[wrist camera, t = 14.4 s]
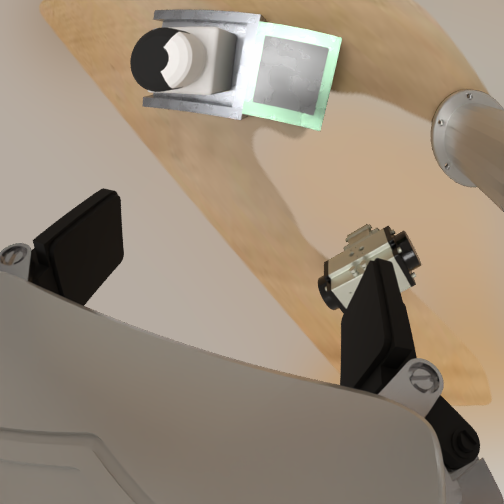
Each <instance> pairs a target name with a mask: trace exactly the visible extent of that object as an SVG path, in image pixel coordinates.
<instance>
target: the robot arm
mask: <svg viewBox="0 0 504 504" xmlns="http://www.w3.org/2000/svg"><path fill="white" fill-rule="evenodd" d="M467 94H468V98H467ZM438 120H440V123H439V124H438ZM431 144H432V150H433V152H434V156H435V158H436V160H437V162H438V164H439V166H440V167H441V169H442V170H443V171H444V173H445V174H446V175H448V176H449V177H450V178H451V179H452V180H454V181H455V182H456V183H459V184H461V185H463V186H467V187H478V188H479V189H480V190H481V191H482V192H484V193H485V194H486V195H487V196H488V197H489V198H490V199H491V200H492V201H493V202H494V203H495V204H496V205H497V206H498V207H499V208H500V209H501V210H502V211H503V212H504V109H503V108H502V106H501V105H500V104H499V103H498V102H497V101H496V100H495V99H494V98H492V97H491V96H490V95H488V94H486V93H483V92H481V91H477V90H468V89H467V90H460V91H457V92H455V93H452V94H451V95H450V96H448V97H447V98H445V100H444V101H443V102H442V103H441V104H440V105H439V107H438V109H437V111H436V112H435V115H434V118H433V121H432V127H431ZM446 163H447V165H446V166H445V164H446ZM121 221H122V220H121V200H120V197H119V196H118V194H117V192H116V191H112V190H108V189H101V190H99V191H98V192H96V193H95V194H93V195H92V196H90V197H89V198H88V199H86V200H85V201H84V202H82V203H81V204H79V205H78V206H77V207H75V208H74V209H72V210H71V211H70V212H68V213H67V214H66V215H64V216H63V217H62V218H60V219H59V220H58V221H56V222H55V223H54V224H53V225H51V226H50V227H49V228H47V229H46V230H45V231H44V232H43V233H41V234H40V235H39V236H37V237H36V238H35V239H34V240H33V243H34V247H35V248H34V249H33V250H32V251H31V248H30V247H29V245H27V244H23V243H16V244H13V245H10V246H8V247H6V248H4V249H3V250H2V251H1V252H0V504H504V500H503V497H502V494H501V492H500V490H499V488H498V486H497V484H496V482H495V480H494V478H493V476H492V474H491V472H490V470H489V468H488V466H487V464H486V462H485V461H484V459H483V458H481V459H480V460H479V458H478V453H479V450H480V442H479V438H478V435H477V433H476V432H475V430H474V429H473V428H472V427H471V426H470V425H469V424H468V423H467V422H466V421H465V420H464V419H463V418H462V417H461V415H460V414H459V413H458V412H457V411H456V410H455V409H454V408H453V407H452V406H451V405H450V404H449V403H448V402H447V401H446V400H445V399H444V398H443V397H442V396H441V395H440V394H441V392H442V390H443V378H442V375H441V373H440V372H439V370H438V369H437V368H436V367H435V366H434V365H433V364H432V363H430V362H429V361H427V360H424V359H420V358H417V357H416V352H415V347H414V342H413V337H412V332H411V328H410V323H409V319H408V315H407V310H406V306H405V304H404V303H403V301H402V297H401V293H400V289H399V285H398V281H397V278H396V274H395V270H394V267H393V263H392V262H391V261H387V260H384V259H380V258H376V259H375V260H374V261H372V260H370V261H369V263H368V265H367V267H366V269H365V271H364V273H363V276H362V278H361V280H360V282H359V284H358V286H357V288H356V290H355V292H354V294H353V296H352V299H351V301H350V303H349V305H348V307H347V309H346V311H345V312H344V315H343V317H342V321H341V378H340V385H337V384H332V383H327V382H323V381H318V380H313V379H310V378H306V377H301V376H297V375H293V374H289V373H285V372H280V371H277V370H273V369H268V368H265V367H261V366H257V365H253V364H250V363H246V362H243V361H239V360H236V359H232V358H229V357H225V356H222V355H219V354H215V353H212V352H209V351H206V350H202V349H199V348H196V347H193V346H189V345H186V344H184V343H181V342H178V341H174V340H172V339H169V338H166V337H163V336H160V335H157V334H154V333H152V332H149V331H146V330H143V329H141V328H138V327H135V326H133V325H130V324H127V323H125V322H122V321H120V320H117V319H114V318H112V317H109V316H107V315H104V314H102V313H100V312H97V311H94V310H92V309H90V308H87V307H85V306H84V305H85V304H86V303H87V301H88V300H89V299H90V298H91V297H92V295H93V294H94V293H95V292H96V291H97V289H98V288H99V287H100V286H101V285H102V283H103V282H104V281H105V280H106V279H107V277H108V276H109V275H110V274H111V273H112V272H113V271H114V270H115V269H116V267H117V266H118V265H119V264H120V263H121V261H122V260H123V256H124V250H123V237H122V222H121Z"/></svg>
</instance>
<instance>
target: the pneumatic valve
mask: <svg viewBox="0 0 504 504" xmlns="http://www.w3.org/2000/svg"><path fill="white" fill-rule="evenodd" d="M371 228H372V227H371V225H367V224H366V225H365V226H363V227H361V228H360V229H358V230H356V231H354V232H353V233H351V234H349V235H348V236H347V238H346V242H349V244H348V245H347V246H345V247H344V252H342V253H340V254H338V255H337V256H335V257H333V258H331V259H329V260H328V261H326V262H324V276H322V277H320V278H319V279H318V288H319V291H320V294H321V296H322V298H323V300H324V302H325V303H326V305H327V306H328V307H329V308H330V309H332V310H336V309H338V308H340V309H341V311H342V312H343V313H344V312H345V311H346V309H347V307H348V305H349V303H350V301H351V299H352V296H353V294H354V292H355V290H356V288H357V286H358V284H359V282H360V280H361V278H362V276H363V273H364V271H365V269H366V267H367V265H368V263H369V261H370V260H372V261H374V260H375V259H376V258H380V259H384V260H387V261H391V262H392V263H393V267H394V270H395V274H396V278H397V281H398V285H399V289H400V293H401V292H403V291H404V290H406V289H408V288H410V287H412V286H414V285H416V283H415V280H414V277H416V275H415V273H414V272H413V273H412V270H414V269H416V268H418V267H419V266H421V262H420V259H419V257H418V255H417V253H416V251H415V249H414V247H413V245H412V243H411V241H410V239H409V237H408V235H407V234H406V232H405V231H402V232H400V233H399V234H397V235H394V234H395V231H394V230H391V229H390V227H389V226H387V227H385V228H383V229H382V230H379V229H378V228H376V229H374V230H372V231H371Z"/></svg>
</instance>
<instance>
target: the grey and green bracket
mask: <svg viewBox="0 0 504 504" xmlns="http://www.w3.org/2000/svg"><path fill="white" fill-rule="evenodd" d="M154 20H158V21H163V26H162V28H163V27H167V28H168V27H218V28H221V29H223V30H226V31H228V32H231V33H233V34H235V35H236V36H237V38H236V46H235V54H234V62H233V70H232V79H231V87H230V90H229V91H226V92H222V93H217V94H213V95H197V94H181V93H156V92H154V93H153V95H150V96H146V97H143V106H144V107H154V108H164V109H172V110H180V111H188V112H195V113H202V114H208V115H215V116H221V117H226V118H232V119H238V120H242V119H244V118H245V117H247V116H248V115H252V116H257V117H262V118H267V119H271V120H276V121H280V122H285V123H289V124H293V125H297V126H302V127H306V128H309V129H313V130H317V131H320V130H321V126H322V122H323V118H324V114H325V110H326V105H327V102H328V98H329V93H330V89H331V85H332V81H333V76H334V72H335V68H336V63H337V59H338V54H339V50H340V45H341V41H342V38H340V37H336V36H333V35H329V34H325V33H320V32H316V31H311V30H307V29H302V28H297V27H292V26H286V25H280V24H274V23H267V22H266V19H265V18H264V17H263V16H262V15H259V14H251V13H241V12H230V11H214V10H155V13H154Z"/></svg>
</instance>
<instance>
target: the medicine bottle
mask: <svg viewBox="0 0 504 504" xmlns="http://www.w3.org/2000/svg"><path fill="white" fill-rule="evenodd" d="M236 38H237V36H236V35H235V34H233V33H231V32H228V31H226V30H223V29H221V28H218V27H168V28H167V27H163V28H155V29H153V30H151V31H149V32H148V33H146V34H145V35H144V36H142V37H141V38H140V39H139V41H138V42H137V43H136V45H135V47H134V49H133V51H132V55H131V63H130V64H131V71H132V74H133V76H134V78H135V80H136V81H137V83H138V84H139V85H140V86H142V87H143V88H145V89H147V90H148V92H156V93H181V94H197V95H213V94H217V93H222V92H226V91H229V90H230V87H231V79H232V70H233V62H234V54H235V46H236Z"/></svg>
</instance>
